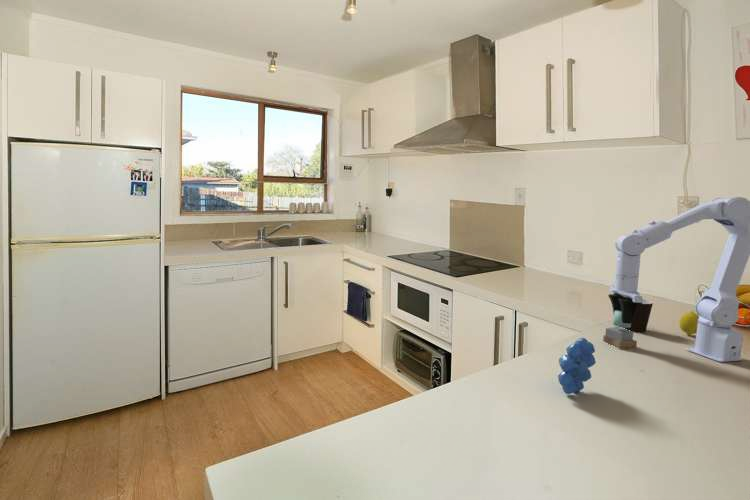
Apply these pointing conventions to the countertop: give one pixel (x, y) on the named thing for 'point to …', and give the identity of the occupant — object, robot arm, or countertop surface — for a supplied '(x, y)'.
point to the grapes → (576, 366)
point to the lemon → (689, 323)
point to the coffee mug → (641, 317)
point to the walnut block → (620, 343)
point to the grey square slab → (619, 334)
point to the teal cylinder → (620, 320)
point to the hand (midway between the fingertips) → (622, 320)
